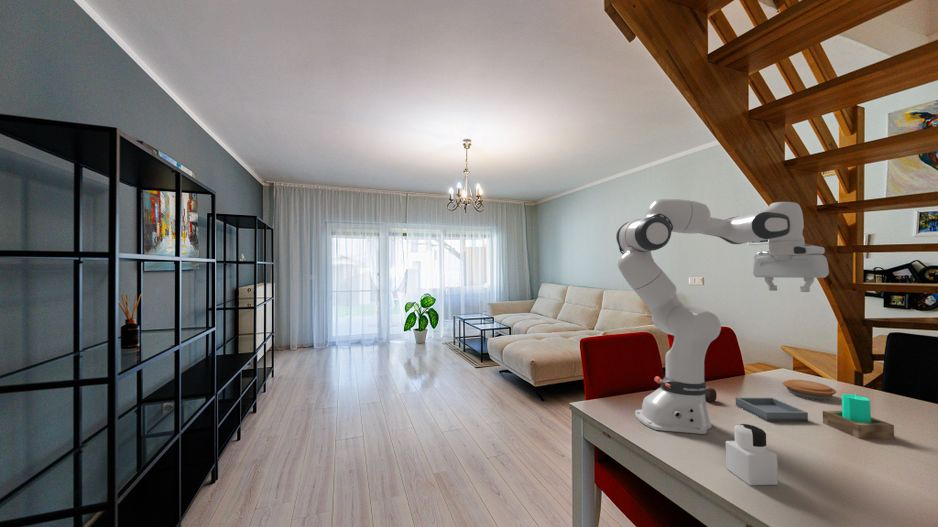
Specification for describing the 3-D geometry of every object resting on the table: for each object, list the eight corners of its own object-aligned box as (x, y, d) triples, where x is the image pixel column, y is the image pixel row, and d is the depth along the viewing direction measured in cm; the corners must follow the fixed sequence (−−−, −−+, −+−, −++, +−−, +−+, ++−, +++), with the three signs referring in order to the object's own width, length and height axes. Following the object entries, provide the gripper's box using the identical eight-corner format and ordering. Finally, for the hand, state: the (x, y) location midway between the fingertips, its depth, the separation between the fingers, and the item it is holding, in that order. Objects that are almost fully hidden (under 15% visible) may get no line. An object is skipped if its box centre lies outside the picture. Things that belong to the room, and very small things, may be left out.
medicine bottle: (752, 467, 87) (751, 420, 87) (779, 485, 80) (777, 433, 80) (725, 468, 87) (724, 421, 87) (749, 486, 79) (748, 434, 80)
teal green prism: (863, 436, 103) (862, 396, 104) (838, 427, 109) (836, 390, 109) (876, 433, 105) (874, 394, 105) (850, 425, 111) (849, 388, 111)
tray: (766, 421, 114) (766, 412, 114) (735, 405, 127) (735, 397, 127) (808, 421, 113) (807, 412, 114) (772, 405, 127) (772, 397, 127)
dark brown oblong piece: (676, 394, 144) (714, 405, 131) (669, 390, 143) (707, 400, 129) (679, 381, 146) (718, 391, 133) (673, 377, 144) (711, 386, 131)
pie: (842, 398, 135) (842, 385, 135) (828, 405, 127) (828, 392, 127) (791, 386, 148) (791, 375, 148) (776, 393, 141) (775, 381, 141)
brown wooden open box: (858, 438, 102) (858, 424, 102) (822, 422, 112) (822, 410, 113) (894, 438, 102) (893, 425, 102) (855, 423, 112) (854, 410, 112)
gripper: (747, 252, 123) (749, 290, 123) (815, 247, 103) (818, 293, 103) (761, 252, 124) (762, 289, 124) (831, 247, 104) (833, 292, 104)
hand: (788, 291), depth 113 cm, fingers open, 8 cm apart
